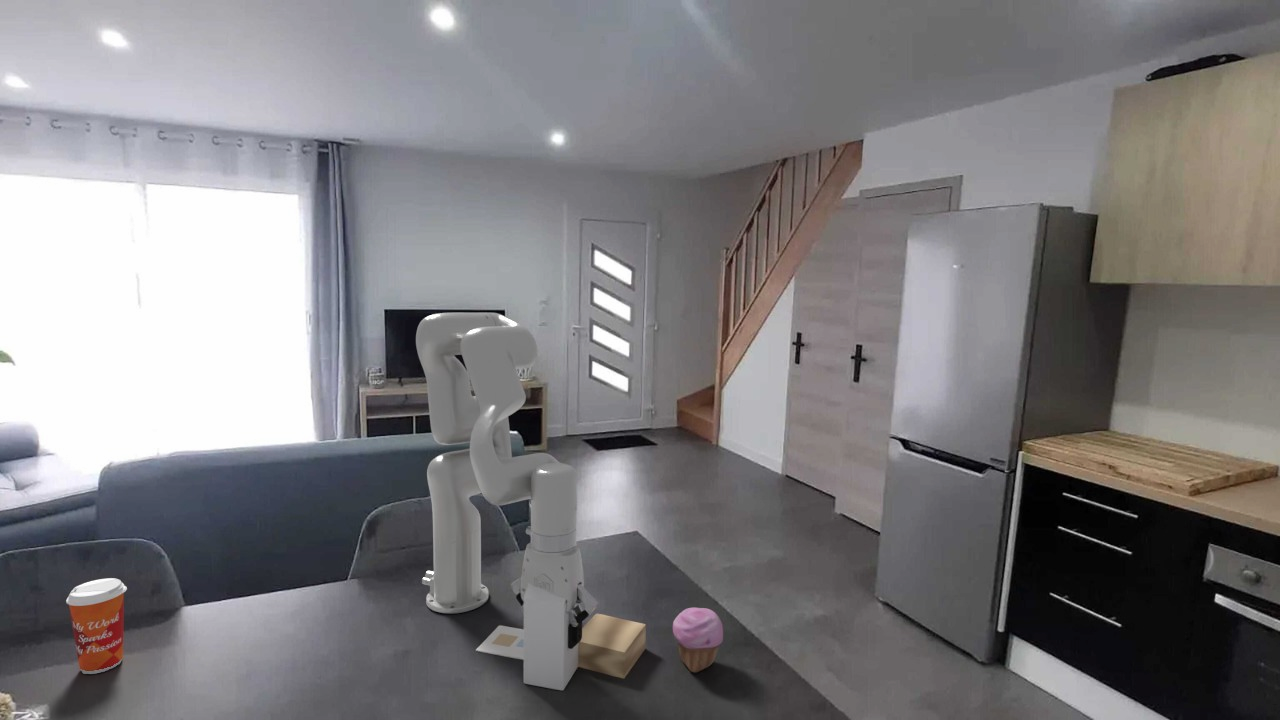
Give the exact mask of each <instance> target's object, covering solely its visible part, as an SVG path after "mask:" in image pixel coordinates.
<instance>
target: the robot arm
mask: <svg viewBox="0 0 1280 720" xmlns="http://www.w3.org/2000/svg"><path fill="white" fill-rule="evenodd" d="M415 346H416V351H417V355H418V359H419V362H420V364H421V367H422V369H423V373H424V375H425V379H426V388H427V399H428V411H429V412H428V414H429V421H430V422H429V423H430V430H431V434H432V437H433V439H434V441H435V442H436V444H437V443H438V444H439V445H443V446H451V445H461V444H466V443H469V448H465V449H461V450H455V451H449V452H445V453H442V454H439V455H438V456H435V458H433V459H432V460H431V461H430V462H429V464H428V466H427V470H426V477H427V478H426V479H427V484H428V490H429V494H430V495H429V496H430V500H431V508H432V509H431V511H432V537H433V538H432V539H433V541H432V547H433V548H432V549H433V570H431V569H430V570H429V569H428V570H427V571H426V572H425V575H424V577H423V578H422V579H421V584H423V585H426V586H429V592H428V593H427V594H426V598H425V600H426V601H425V603H426V606H427V607H428V608H429V609H430V610H432V611H433V612H438V613H441V614H460V613H466V612H470V611H472V610H475V609H478V608H479V607H481V606H483V605H484V604H485V603H486V602H487V601H488V599H489V588H488V587H487V586H486V585H484V584H483V583H482V539H481V538H482V527H481V526H482V525H481V521H482V520H481V514H480V513H479V512H480V511H479V510H478V509H477V508H476V506H475V505H474V504H473V503H472V502H471V500H470V497H472V496H473V497H474V496H476V495H478V494H482V496H483V497H484V499H485V500H486V501H487V502H488V503H489V504H491V505H494V506H504V505H509V504H510V505H511V504H513V503H518V502H522V501H526V500H530V526H529V525H528V526H527V527H526V528H525V533H526V535H529V537H530V542H529V543H527V544H526V548H525V550H524V555H523V560H522V561H523V562H522V567H521V577H520V578H518V579H516V580H514V581H513V582H511V583H510V587H511V589H512V591H513V593H514V594H515V598H516V600H517V602H518V604H519V605H520V606H521V607H520V609H521V612H522V613H524V595H525V592H526V589H527V586H528V583H529V584H531V585H533V586H535V587H539V588H541V589H543V590H545V591H548V592H550V594H553V595H556V596H558V597H561V598H564V599H566V600H567V601H566V614H567V613H569V621H570V623H571V624H570V625H569V626H568V648H570V649H572V648H573V647H574V646H576V645H577V644H578V643H579V642H580V641H581V639H582V628H583V621H584V620H586V619H587V618H588V617H589V616H590V615H591V614H592V613H593V612H594V611H595V609H596V608H597V607H598V605H599V603H598V601H597V600H596V598H595V597H593V596H592V594H590V592H589V591H588V590H587V589H586V588H585V587H584V586H585V583H584V582H585V581H584V567H583V560H582V555H581V550H580V547H579V546H578V545H577V523H578V521H577V514H578V512H577V511H578V510H577V509H578V507H577V506H578V505H577V504H578V503H577V502H578V501H577V500H578V497H577V496H578V474H577V471H576V469H575V468H574V467H573V466H572V465H570V464H566V463H562V462H560V461H559V460H557V459H556V457H554V456H553V455H551V454H549V453H546V452H535V453H532V454H531V453H530V454H525V455H519V456H513V455H512V453H513V452H512V443H511V433H510V432H511V431H510V430H511V428H510V422H509V421H510V420H509V416H511V415H513V414H514V413H516V412H517V411H519V410H520V409H521V408H522V407H523V405H525V403H526V398H527V397H526V396H527V395H526V392H525V390H524V387H523V385H522V382H521V379H520V376H519V373H518V370H519V369H523V370H524V369H528V368H530V367H531V366H532V365H534V364H535V361H536V360H537V356H538V345H537V342H536V340H535V337H534V335H533V334H532V333H531V331H530V329H528V328H527V327H526V326H524V325H523V324H521V323H519V322H517V321H515V320H513V319H511V318H509V317H507V316H505V315H503V314H501V313H497V312H463V311H462V312H442V313H441V312H439V313H433V314H431V315H427V316H426V317H424V318H423V319H422V320H421V321H420V322H419V324H418V326H417V329H416V334H415ZM458 355H459V356H460V355H461V356H462V359H463V363H464V364H463V363H462V362H461V361H460V360H459V358H457V357H456V356H458ZM464 365H465V366H464ZM471 386H472V389H473V393H474V395H472V391H471ZM581 603H583V604H584V606H585V607H584V609H583V607H582V605H581ZM573 609H574V611H575V613H576V615H577V616H576V615H575V613H574V611H573Z"/></svg>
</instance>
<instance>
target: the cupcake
mask: <svg viewBox="0 0 1280 720" xmlns="http://www.w3.org/2000/svg"><path fill="white" fill-rule="evenodd" d="M672 633H673V635H674V638H675V640H676V641H677V644H678V651H679V659H680V660H681V662H683V664H684V665H685V666H686V667H687V669H688V670H689V672H692V673H698V672H700V671H703V670H704V669H707V668H709V667H710V666H711V665H712V664H713V663H714V661H715V659H716V657H717V653H718V650H719V647H720V645H721V644H722V642H723V640H724V629H723V622H722V620H721V619H720V617H719V616H718V614H717V613H716V612H715V611H713V610H712V609H710V608H706V607H705V608H704V607H689V608H688V607H687V608H685V609H684V610H682V611H681V612H680V613H679V614H678V615H677V616H676V617H675V619H674V620H673V622H672Z"/></svg>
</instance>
